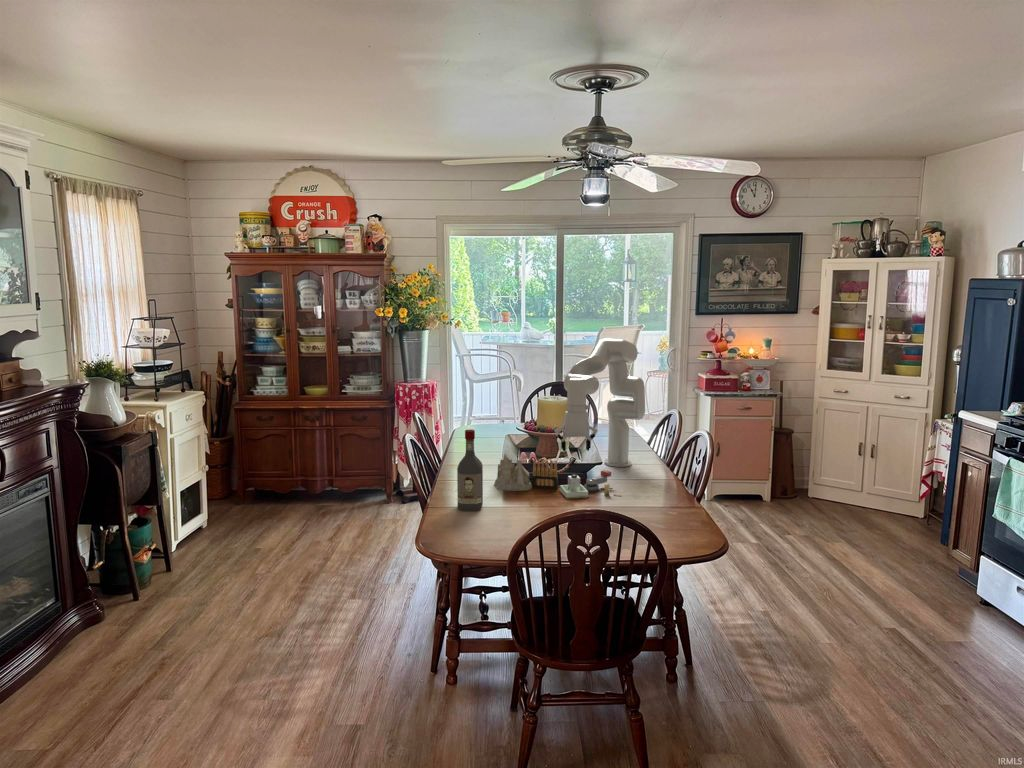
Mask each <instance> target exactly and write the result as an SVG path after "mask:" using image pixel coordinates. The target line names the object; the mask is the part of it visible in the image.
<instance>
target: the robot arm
mask: <svg viewBox="0 0 1024 768" xmlns="http://www.w3.org/2000/svg"><path fill="white" fill-rule="evenodd" d="M637 358H638V348H637V346H636V345H635V344H634V343H633V342H631V341H628V340H625V339H620V338H600V339H599V340H598V341H597V342H596V344H595V345H594V346H593V348H592V350H591V352H590V354H589V355H588V357H587V358H585V359H581V360H580V361H579V362H577V363H574V364H573V365H572V366H571V367H570V368H569V370H568V372H566V375H565V377H564V380H563V387H564V390H565V391H566V392H567V393H566V394H567V398H566V400H567V401H566V403H567V405H566V410H565V411H564V415H563V423H562V426H559V428H557V429H554V433H555V435H556V437H557V438H558V439H559V440H560V441H561V443H560V444H561V445H560V446H561V447H560V448H561V450H562V451H563V452H566V448H567V445H566V444H567V442H566V440H567V438H582V437H583V438H585V437H586V440H585V449H586V451H590V449H591V447H592V444H591V443H592V441H593V439H594V438H596V435H597V433H598V429H597V428H595V427H593V426H591V425H590V419H589V412H588V411H587V410H588V409H589V410H590V408H591V407H590V405H588V404H587V395H593V394H595V393H596V392H597V391H598V390H599V388H600V381H599V379H598V378H597V377H596V376H594V375H595V374H599V373H602V372H604V370H605V369H606V367H608V377H609V378H608V379H609V381H608V382H609V391H610V394H611V395H613V396H616V397H612V398H610V399H609V400H608V402H607V406H606V410H607V415H608V416H607V417H608V442H607V443H608V444H607V445H608V446H607V451H608V452H607V459H604V464H605V465H606V466H609V467H615V468H626V467H630V466H632V460H630V459H629V446H630V444H629V443H630V425H629V423H628V421H627V420H634V421H640V420H642V419H644V417H645V415H646V414H645V413H646V388H645V382H644V380H643V379H642V377H639V376H631V375H630V376H629V371H628V363H630V364H631V363H634V362H635V361H636V360H637ZM590 431H592V433H591V434H590ZM560 432H562V433H563V435H561V434H560Z"/></svg>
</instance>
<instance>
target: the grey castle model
mask: <svg viewBox="0 0 1024 768" xmlns="http://www.w3.org/2000/svg"><path fill="white" fill-rule="evenodd" d="M493 485H494V487H495V488H496V489H498V490H501V491H508V492H509V491H510V492H511V491H513V492H514V491H515V492H516V491H517V492H526V491H530V490H532V489H533V488H532V481H531V480H530V472H529V471H528V470H527V469H526V468H525V467H524V466H523V464H522V459H517V464H515V463H513V459H512V458H511V459H509V457H508V456H507V454H504V455H503V459H500V462H499V464H497V476H496V478H495V481H494V484H493Z"/></svg>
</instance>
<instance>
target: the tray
mask: <svg viewBox="0 0 1024 768" xmlns="http://www.w3.org/2000/svg"><path fill="white" fill-rule="evenodd" d="M559 492H560V493H561V494H562V495H563V497H565V499H578V498H579V499H581V497H583V498H589V492H588V491H587V490H586V489H585V488H584V485H582V484H581V483H580V491H579V492H568V484H561V485H559Z"/></svg>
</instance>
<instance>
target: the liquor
mask: <svg viewBox="0 0 1024 768" xmlns="http://www.w3.org/2000/svg"><path fill="white" fill-rule="evenodd" d="M475 431H476V430H475V429H465V430H464V439H465V455H464V456H463V457H462V458H461V460H459V463H458V465H457V468H456V471H457V473H456V474H457V475H456V477H457V478H456V480H457V493H456V494H457V509H458V510H459V511H462V512H477V511H480V510H481V509H482V507H483V504H484V498H483V496H484V494H483V493H484V491H483V490H484V489H483V487H484V486H483V483H484V481H483V475H484V474H483V471H484V470H483V468H484V467H483V466H484V465H483V463H482V461H481V460H480V459H479V458H478V456H477V455H476V453H475V439H476V438H475V437H476V436H475V435H476V434H475V433H476V432H475Z"/></svg>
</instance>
